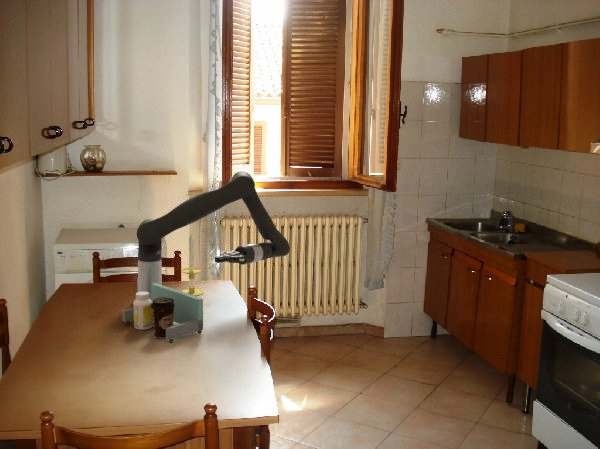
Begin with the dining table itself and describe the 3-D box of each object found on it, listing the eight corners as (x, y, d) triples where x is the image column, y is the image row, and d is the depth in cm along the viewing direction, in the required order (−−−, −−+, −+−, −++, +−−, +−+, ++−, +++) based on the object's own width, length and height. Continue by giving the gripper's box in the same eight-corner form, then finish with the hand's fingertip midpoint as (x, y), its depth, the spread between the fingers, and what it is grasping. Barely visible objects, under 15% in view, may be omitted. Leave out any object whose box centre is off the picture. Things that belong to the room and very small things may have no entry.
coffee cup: (180, 334, 242) (180, 298, 239) (166, 341, 234) (166, 305, 232) (160, 329, 245) (159, 295, 243) (146, 337, 238) (145, 301, 235)
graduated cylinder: (194, 288, 298) (194, 227, 293) (208, 293, 291) (208, 231, 286) (175, 292, 292) (174, 230, 287) (188, 297, 284) (187, 234, 279)
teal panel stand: (122, 324, 250) (121, 290, 247) (156, 315, 261) (155, 282, 258) (168, 344, 231) (168, 307, 229) (203, 333, 242) (202, 298, 240)
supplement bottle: (155, 324, 251) (154, 291, 248) (149, 330, 244) (148, 296, 242) (137, 323, 251) (136, 290, 249) (131, 329, 245) (130, 295, 242)
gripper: (238, 241, 277) (205, 247, 264) (261, 247, 268) (227, 253, 256) (237, 259, 278) (204, 266, 266) (260, 266, 270) (227, 273, 257)
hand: (216, 260), depth 261 cm, fingers closed
